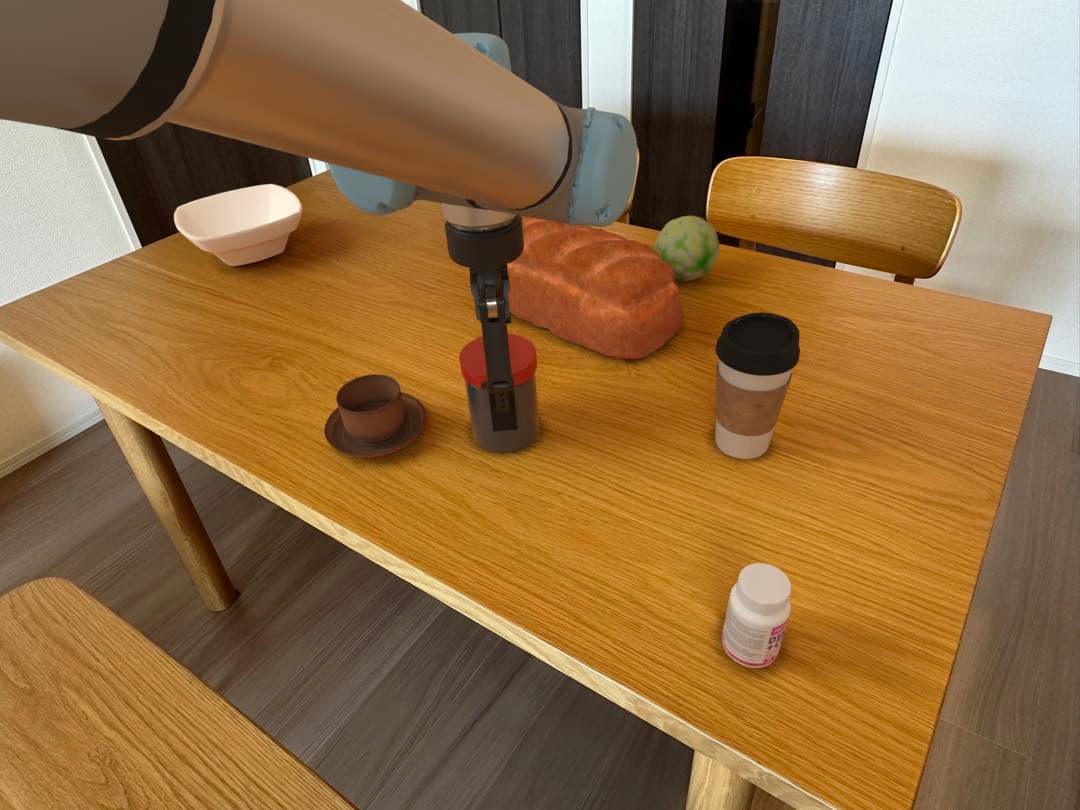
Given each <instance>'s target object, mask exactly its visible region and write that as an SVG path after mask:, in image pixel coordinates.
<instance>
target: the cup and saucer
mask: <svg viewBox="0 0 1080 810" xmlns="http://www.w3.org/2000/svg"><path fill="white" fill-rule="evenodd" d="M335 402H336V405H337V407H336V409H335V410H333V411H332V413H330V415H329V416H328V418H327V420H326V422H325V425H324V437H325V439H326V441H327V443H328V444H329V446H330V447H332V449H334V450H335V451H337V452H338V453H339V454H342V455H345V456H348V457H354V458H363V459H365V458H367V459H369V458H371V459H372V458H377V457H378V458H379V457H383V456H387V455H390V454H392V453H395V452H397V451H399V450H401V449H403V448H405V447H406V446H408V445H409V444H411V443H412V442H413V441H414V440H415V439H416V438H417V437H418V436H419V435H420V434H421V432H422V431H423V429H424V427H425V424H426V418H427V414H426V413H427V412H426V409H425V407H424V404H423V403H422V402H421V401H420V400H419V399H418V398H417V397H415V396H413V395H411V394H409V393H406V392H403V391H402V390H401V386H400V383H399V382H398V381H397V380H396V379H395V378H394V377H391V376H390V375H386V374H379V373H378V374H377V373H376V374H366V375H362V376H359V377H358V376H355V377H353V379H351V380H349V381H348V382H346V383H345V384H343V385H342V386H341V387H340V388H339V390H338V391H337V393H336V397H335Z"/></svg>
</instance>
